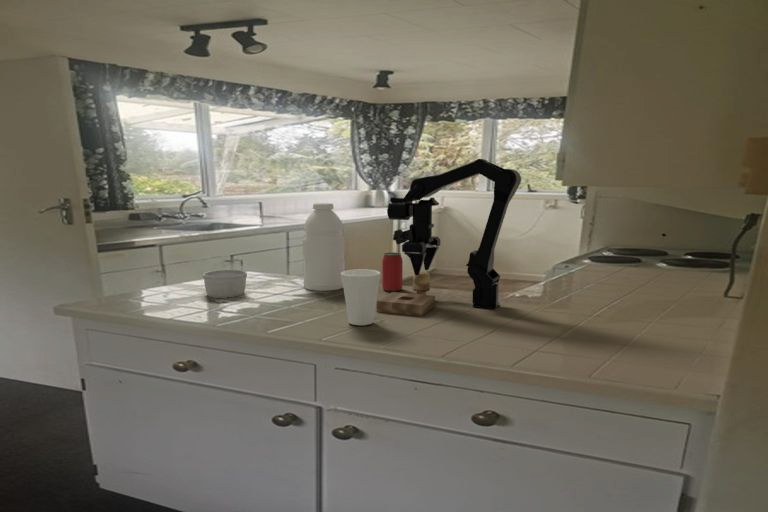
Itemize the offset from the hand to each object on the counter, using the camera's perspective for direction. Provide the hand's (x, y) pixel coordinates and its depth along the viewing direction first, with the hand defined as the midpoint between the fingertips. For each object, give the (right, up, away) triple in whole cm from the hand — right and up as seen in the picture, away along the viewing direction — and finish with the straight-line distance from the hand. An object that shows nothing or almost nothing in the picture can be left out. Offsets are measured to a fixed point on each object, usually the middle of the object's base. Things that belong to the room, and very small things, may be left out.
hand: (421, 272), depth 159 cm
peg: (0, -8, +1) cm, 8 cm away
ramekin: (-61, -7, +7) cm, 62 cm away
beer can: (-9, -6, +15) cm, 18 cm away
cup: (-17, -12, -25) cm, 33 cm away
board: (-5, -10, -11) cm, 15 cm away
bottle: (-31, -6, +19) cm, 37 cm away
